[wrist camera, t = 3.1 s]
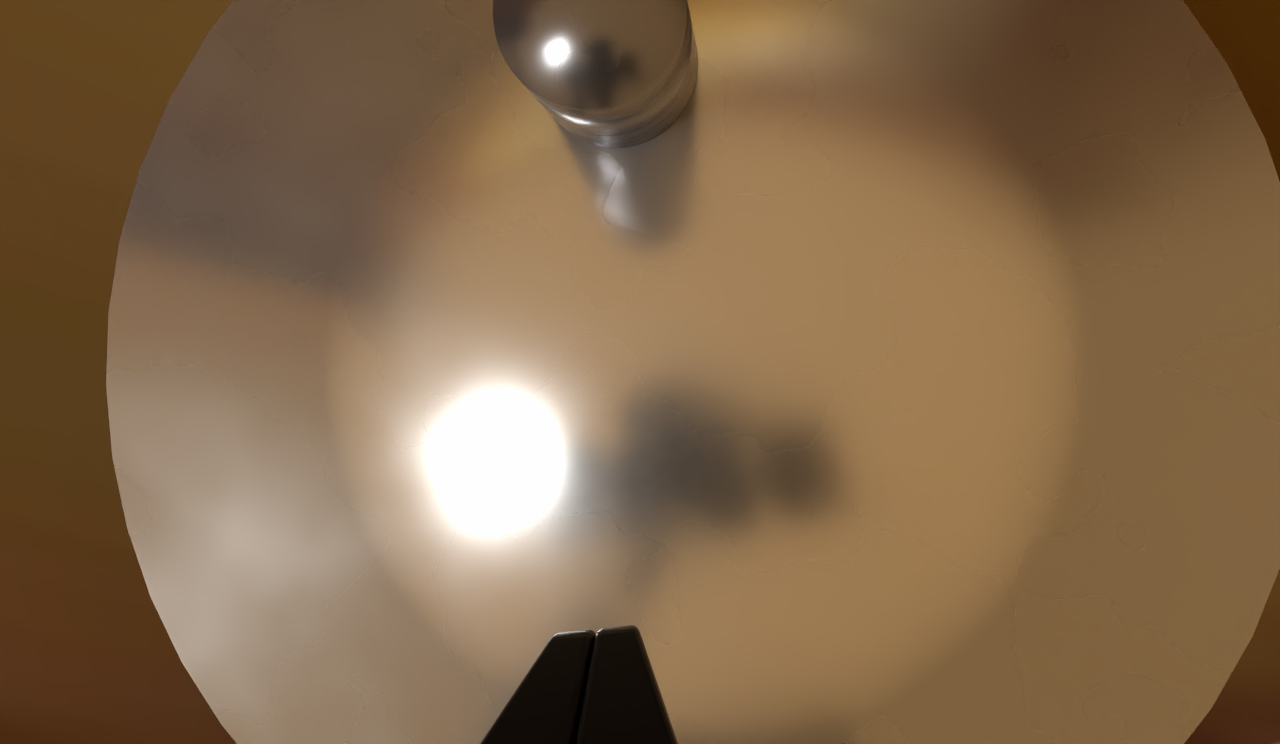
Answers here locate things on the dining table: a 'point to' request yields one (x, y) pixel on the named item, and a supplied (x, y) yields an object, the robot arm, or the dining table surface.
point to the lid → (705, 365)
